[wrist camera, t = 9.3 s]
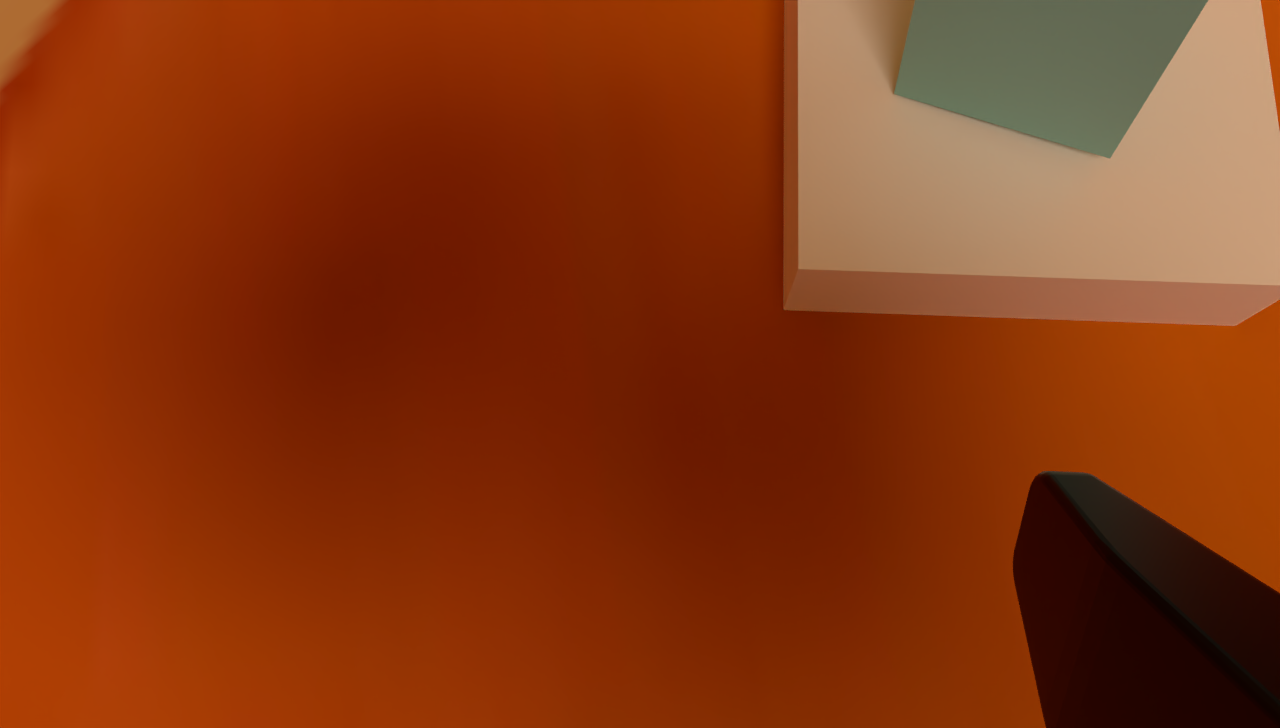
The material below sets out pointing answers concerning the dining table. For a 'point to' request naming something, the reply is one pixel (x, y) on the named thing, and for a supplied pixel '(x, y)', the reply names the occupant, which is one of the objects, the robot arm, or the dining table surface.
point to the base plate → (1027, 186)
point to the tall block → (1044, 62)
